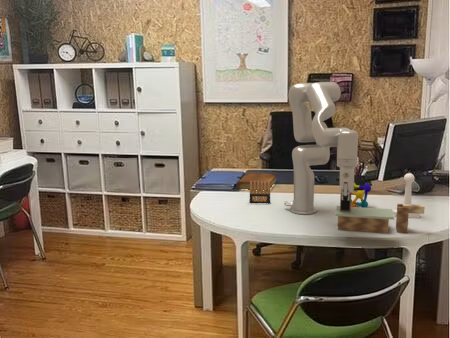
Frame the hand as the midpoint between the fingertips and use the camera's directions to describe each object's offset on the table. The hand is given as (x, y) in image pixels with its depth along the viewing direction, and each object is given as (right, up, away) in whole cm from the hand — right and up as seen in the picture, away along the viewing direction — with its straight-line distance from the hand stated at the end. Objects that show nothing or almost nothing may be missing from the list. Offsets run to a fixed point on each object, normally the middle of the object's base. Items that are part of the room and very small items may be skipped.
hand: (345, 207), depth 177 cm
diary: (-28, +5, +89) cm, 93 cm away
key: (+30, -2, +8) cm, 31 cm away
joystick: (+36, -6, +30) cm, 47 cm away
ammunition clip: (-29, -2, +53) cm, 61 cm away
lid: (+7, -2, -2) cm, 7 cm away
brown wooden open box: (+15, -10, +14) cm, 22 cm away
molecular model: (+17, -4, +43) cm, 46 cm away
